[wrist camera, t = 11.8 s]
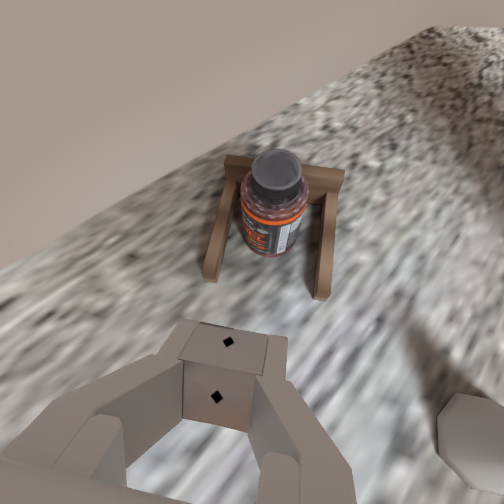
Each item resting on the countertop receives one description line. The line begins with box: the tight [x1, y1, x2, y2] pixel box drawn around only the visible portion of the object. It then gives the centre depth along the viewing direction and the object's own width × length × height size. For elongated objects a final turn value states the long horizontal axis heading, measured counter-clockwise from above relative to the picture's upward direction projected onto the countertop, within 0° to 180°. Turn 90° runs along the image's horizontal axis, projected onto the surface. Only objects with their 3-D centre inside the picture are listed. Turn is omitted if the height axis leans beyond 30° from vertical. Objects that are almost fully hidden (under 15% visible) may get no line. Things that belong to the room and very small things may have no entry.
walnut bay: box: [202, 155, 345, 301], centre depth 31 cm, size 13×12×5 cm
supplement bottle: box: [240, 149, 309, 257], centre depth 28 cm, size 6×6×11 cm
